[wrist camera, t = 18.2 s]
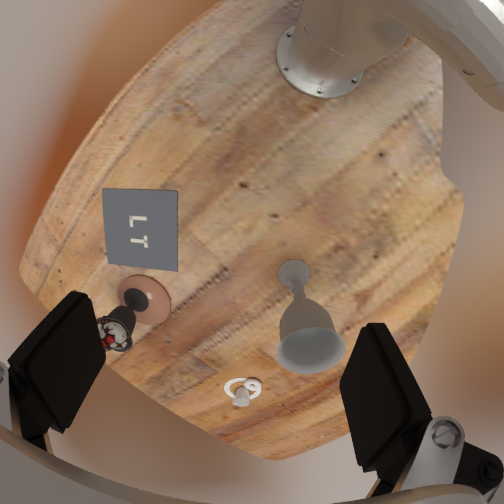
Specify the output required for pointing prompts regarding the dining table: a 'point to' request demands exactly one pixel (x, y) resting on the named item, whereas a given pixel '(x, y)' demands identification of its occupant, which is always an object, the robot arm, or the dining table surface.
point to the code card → (141, 228)
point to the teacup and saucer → (243, 391)
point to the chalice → (306, 327)
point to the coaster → (155, 295)
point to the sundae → (122, 322)
